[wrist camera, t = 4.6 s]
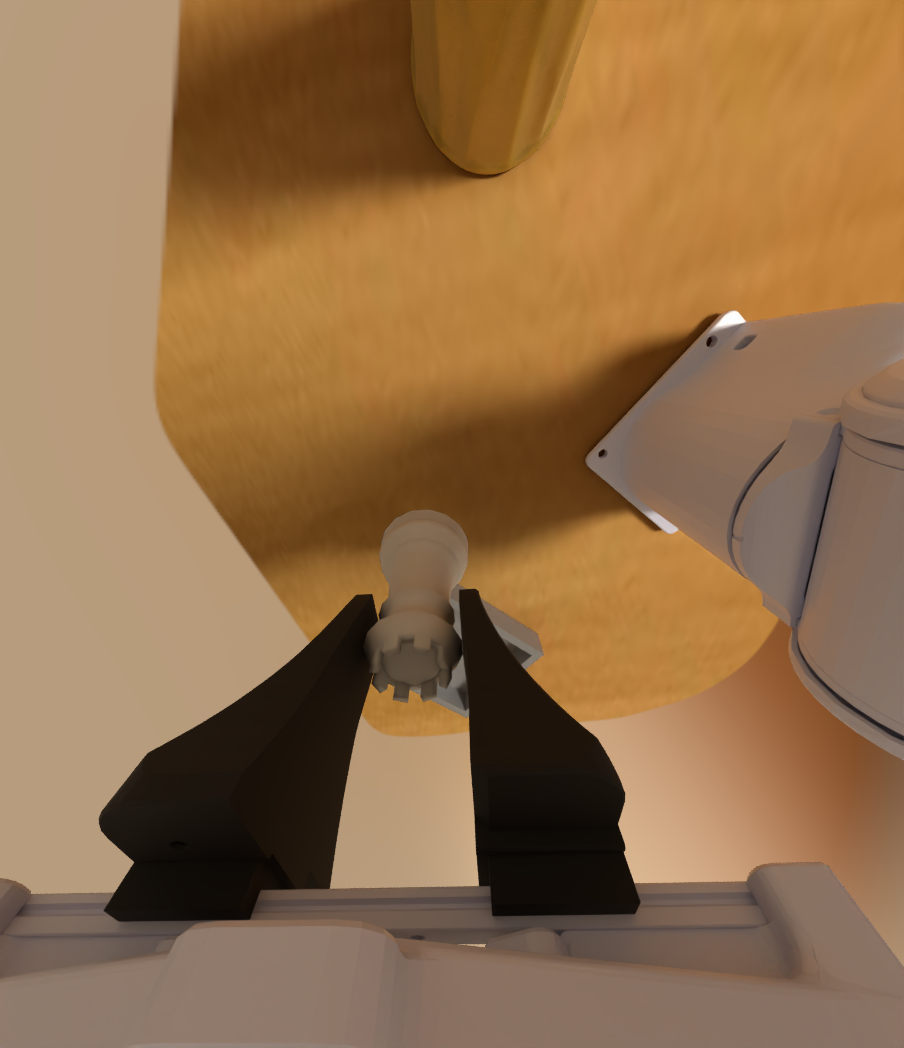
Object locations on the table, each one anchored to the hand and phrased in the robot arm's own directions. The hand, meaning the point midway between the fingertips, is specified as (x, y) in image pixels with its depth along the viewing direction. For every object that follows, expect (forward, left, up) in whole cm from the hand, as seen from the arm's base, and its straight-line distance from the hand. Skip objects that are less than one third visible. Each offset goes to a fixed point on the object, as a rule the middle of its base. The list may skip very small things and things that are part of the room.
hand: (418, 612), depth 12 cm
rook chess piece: (0, 0, -6) cm, 6 cm away
